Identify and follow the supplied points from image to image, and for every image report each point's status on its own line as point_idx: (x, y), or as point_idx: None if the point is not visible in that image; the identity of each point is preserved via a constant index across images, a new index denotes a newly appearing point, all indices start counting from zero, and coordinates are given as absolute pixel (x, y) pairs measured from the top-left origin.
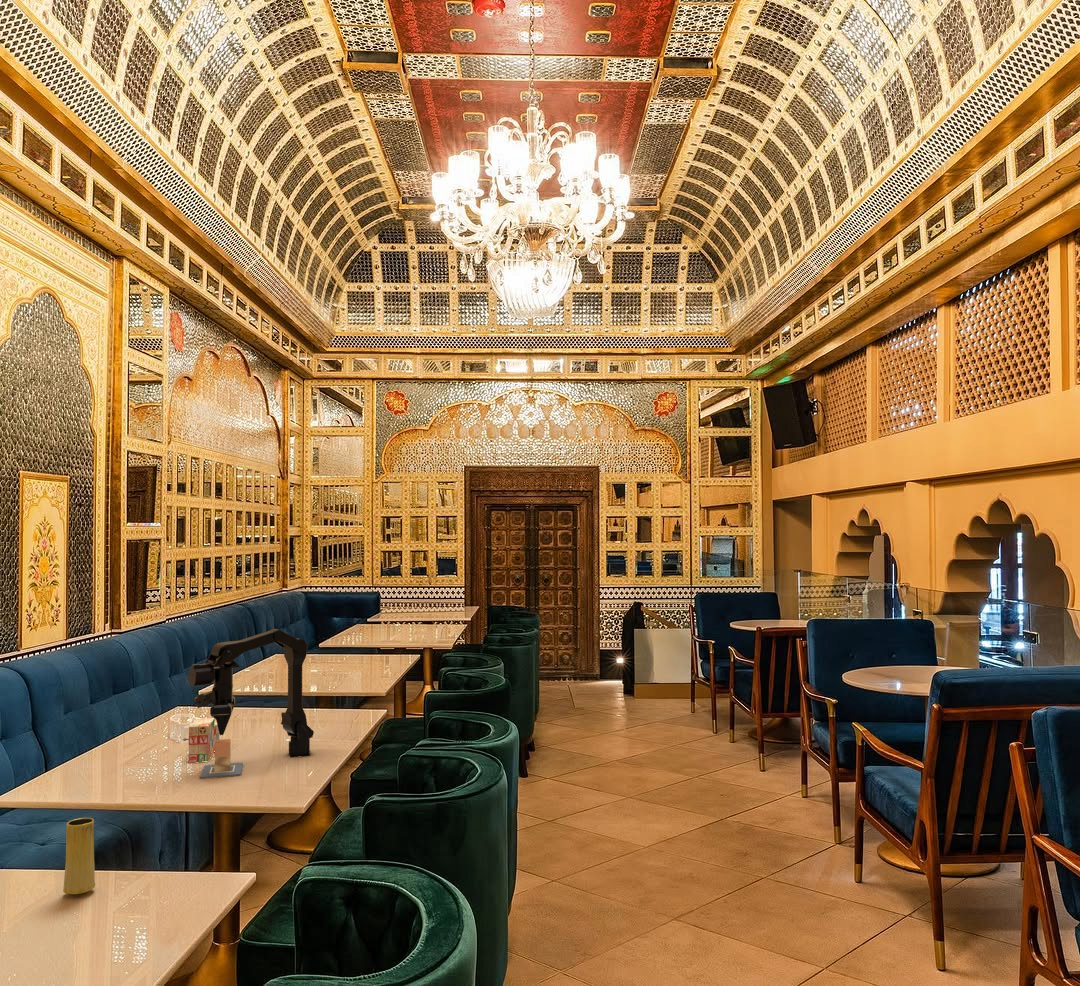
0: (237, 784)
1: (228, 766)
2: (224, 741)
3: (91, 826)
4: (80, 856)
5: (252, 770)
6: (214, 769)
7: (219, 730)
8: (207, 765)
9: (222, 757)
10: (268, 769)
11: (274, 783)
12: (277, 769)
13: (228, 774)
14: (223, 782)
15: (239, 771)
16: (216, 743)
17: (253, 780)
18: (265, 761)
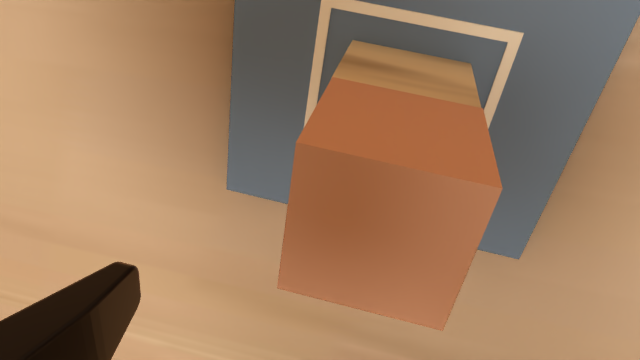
0: (50, 133)
1: None
2: (339, 255)
3: None
4: None
5: None
6: (350, 45)
7: (41, 310)
8: (630, 6)
9: None
10: (312, 320)
11: (47, 276)
12: (293, 347)
13: (234, 121)
14: (105, 66)
15: (285, 193)
16: (295, 161)
17: (115, 216)
18: (507, 354)
